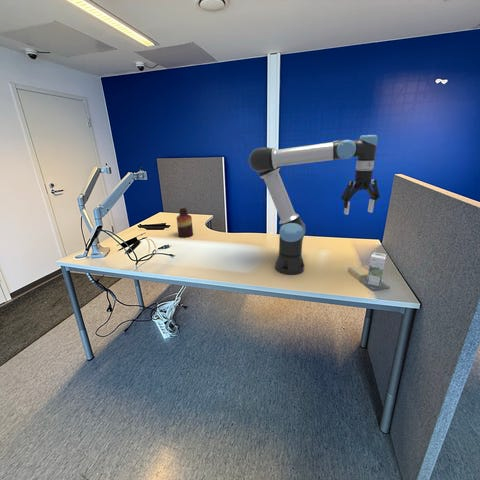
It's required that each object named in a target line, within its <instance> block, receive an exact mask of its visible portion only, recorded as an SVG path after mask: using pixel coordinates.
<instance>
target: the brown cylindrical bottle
mask: <svg viewBox="0 0 480 480" xmlns="http://www.w3.org/2000/svg"><path fill="white" fill-rule="evenodd" d="M178 212H179V215H177V216H176V225H177V234H178V237H179V238H183V239H186V238H191V237H193V236H194V229H193V219H192V215H191V214H189V211H188V208H186V207H182V208H179V210H178Z"/></svg>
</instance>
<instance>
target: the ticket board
mask: <svg viewBox="0 0 480 480" xmlns="http://www.w3.org/2000/svg"><path fill="white" fill-rule="evenodd" d="M368 272H369V266H367V265H365V264H362V265H357V266H348V267H347V273H348V274H350V275H351V276H353V277H354V278H355V279H357V280H358V281H359V280H363V279H367V278H368Z"/></svg>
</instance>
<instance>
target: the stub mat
mask: <svg viewBox="0 0 480 480" xmlns="http://www.w3.org/2000/svg"><path fill="white" fill-rule="evenodd" d="M358 282H360V283H361V284H362V283H363V284H362V285H364V286H365V287H366V286H367V287H366V288H367V289H369V290H370V291H372V292H373V291H381V290H386V289H390V286H389V285H387V284H386V283H385V282H383V281H381V285H380V287H377V286H372V285H367V279H362V280H358Z"/></svg>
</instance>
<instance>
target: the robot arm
mask: <svg viewBox="0 0 480 480" xmlns="http://www.w3.org/2000/svg"><path fill="white" fill-rule="evenodd" d="M378 140H379V139H378V135H376V134H366V135H365V134H364V135H362V134H361V135H360V136H359V139H356V140H355V139H354V140H353V139H352V140H351V139H344V140H343V139H342V140H333V141H331V142H330V141H329V142H324V143H323V142H322V143H317V144H308V145H301V146H293V147H287V148H281V149H276V148H275V147H273V148H272V147H267V146H263V147H258V148H255V149H253V150H252V152H250V154H249V156H248V164H249V167H250V168H251V170H253V171H255V172H256V173H257V174H258V176H259V178H260V179H263V180H264V183H265V185H266V187H267V190H268V193H269V196H270V198H271V200H272V202H273V204H274V206H275V209H276V212H277V214H278V217H279V218H280V220H279V222H278V224H279V227H280V228H279V233H278V235H279V241H278V242H279V243H278V245H279V248H278V256H277V259H276V261H275V264H274V268H275V270H276V271H277V272H279V273H280V274H284V275H299V274H301V273H303V272H304V271H305V264H304V259H303V256H302V253H303V252H302V251H303V240H304V237H305V233H306V224H305V222H303V221H302V218H301V217H300V215H299V214H298V213H296V212H295V210H294V207H293V205H292V202H291V199H290V197H289V195H288V192H287V190H286V188H285V185H284V182H283V179H282V177H281V175H280V173H279V171H280V170H281V167H283V166H284V167H285V166H292V165H302V164H310V163H317V162H326V161H327V162H328V161H336V160H349V159H350V158H357V159H356V166H355V169H356V170H355V171H354V180H348V182H347V186H346V188H345V190H344V192H343V193H342V195H341V197H340V200H341V201H343V209H344V210H343V214H344V215H349V213H350V212H349V211H350V205H351V202H350V200H351V199H352V198H353V196H354V195H355V194H356V193H357V192H358V191H362V190H365V191H366V192H367V193H368V195H369V197H370V199H369V201H368V207H367V212H368V213H370V214H371V213H373V211H374V207H375V205H376V201H377V200H378V199H379V198H381V196H380V192H379V189H378V184H377V183H378V181H377V179H373V173H374V172H373V170H374V165H375V158H376V154H377V147H378Z"/></svg>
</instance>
